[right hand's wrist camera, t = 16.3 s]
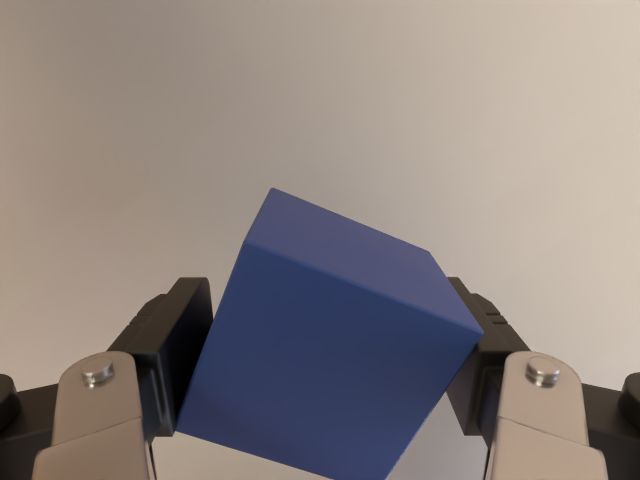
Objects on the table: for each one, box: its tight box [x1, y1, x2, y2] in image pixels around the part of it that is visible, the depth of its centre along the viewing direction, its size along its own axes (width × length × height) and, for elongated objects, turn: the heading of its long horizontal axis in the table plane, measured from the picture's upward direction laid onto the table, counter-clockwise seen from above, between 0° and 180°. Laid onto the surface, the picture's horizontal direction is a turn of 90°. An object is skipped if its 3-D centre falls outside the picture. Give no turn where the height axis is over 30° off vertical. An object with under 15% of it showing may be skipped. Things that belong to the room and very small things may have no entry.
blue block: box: [175, 188, 484, 480], centre depth 10 cm, size 5×5×4 cm
